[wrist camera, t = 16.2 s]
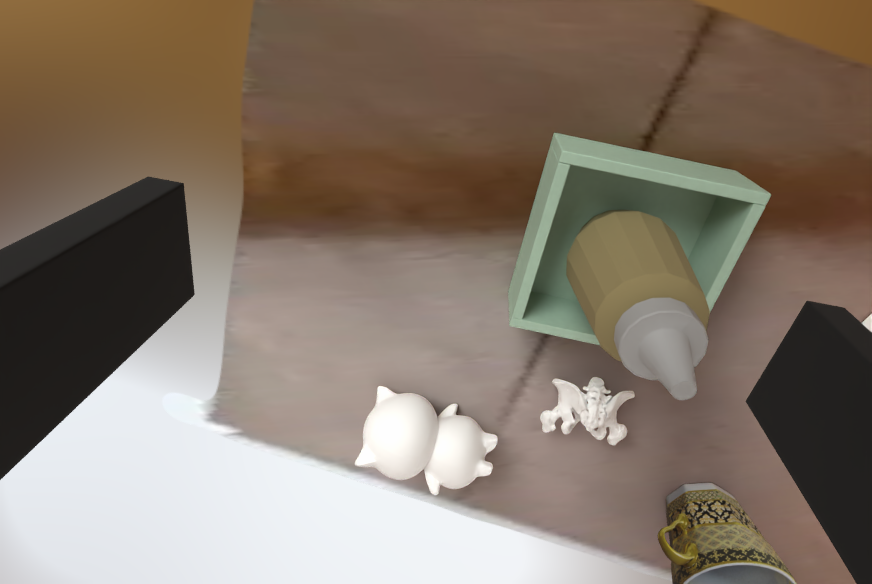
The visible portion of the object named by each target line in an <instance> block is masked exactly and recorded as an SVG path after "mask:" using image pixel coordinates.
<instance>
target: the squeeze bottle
mask: <svg viewBox="0 0 872 584" xmlns="http://www.w3.org/2000/svg"><path fill="white" fill-rule="evenodd" d="M566 276H567V278H568V280H569V282H570V285H571V287H572V289H573V291H574V293H575V295H576V297H577V299H578V302H579V304H580V306H581V308H582V310H583V312H584V314H585V316H586V318H587V320H588V322H589V324H590V326H591V328H592V330H593V332H594V334H595V336H596V338H597V340H598V342H599V344H600V346H601V348H602V349H603V350H605V351H606V352H607V353H608V354H609V355H611V356H612V357H613V358H614V359H615V360H618V361H621V362H622V363H623V365H624V367H626V368H627V369H628V370H629V371H630V372H632V373H633V374H634V375H635V376H639V377H642V378H645V379H648V380H659V381H660V382H661V383H662V384H663V386H664V387H665V388H666V389H667V390H668V391H669V392H670V394H671V395H672V396H673V397H674V398H676V399H678V400H688V399H690V398H692V397H694V395H695V394H696V393H697V385H696V378H695V372H694V367H696V366H697V365H698V363H699V362H700V361H701V359H702V358H703V357H704V355H705V354H706V350H707V345H708V340H709V339H708V336H707V333H706V330H707V325H708V320H709V315H710V310H709V307H708V304H707V301H706V298H705V295H704V293H703V290H702V288H701V286H700V284H699V282H698V280H697V278H696V276H695V274H694V271H693V269H692V267H691V265H690V263H689V261H688V259H687V257H686V254H685V252H684V250H683V248H682V246H681V244H680V242H679V240H678V238H677V235H676V233H675V232H674V231H673V230H672V229H671V228H670V227H669V226H668V225H667V224H666V223H665V222H663V221H662V220H661V219H660V218H658V217H655V216H652V215H649V214H646V213H643V212H640V211H633V210H608V211H605V212H603V213H601V214H598V215H596V216H594V217H592V218H591V219H590V220H589V221H588V222H587V223H586V224H585V225H584V226H583V227H582V228H581V230H580V231H579V233H578V235H577V236H576V238H575V240H574V242H573V244H572V246H571V248H570V250H569V252H568V254H567V266H566Z"/></svg>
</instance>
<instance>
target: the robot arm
mask: <svg viewBox="0 0 872 584" xmlns="http://www.w3.org/2000/svg"><path fill="white" fill-rule="evenodd" d="M193 296H194V285H193V275H192V264H191V254H190V245H189V234H188V224H187V214H186V203H185V194H184V184H183V183H179V182H174V181H169V180H163V179H158V178H152V177H146V178H145V179H142V180H140V181H138V182H136V183H134V184H132V185H130V186H128V187H126V188H124V189H122V190H120V191H118V192H116V193H114V194H112V195H110V196H108V197H106V198H104V199H102V200H100V201H98V202H96V203H94V204H92V205H90V206H88V207H86V208H84V209H82V210H80V211H78V212H76V213H74V214H72V215H69V216H68V217H65V218H64V219H61V220H59V221H57V222H55V223H54V224H51V225H49V226H47V227H45V228H43V229H41V230H39V231H37V232H35V233H33V234H31V235H29V236H27V237H25V238H23V239H21V240H19V241H17V242H15V243H13V244H11V245H9V246H7V247H5V248H3V249H1V250H0V480H1V478H3V477H4V476H5V475H6V474H7V473H8V472H9V471H10V470H11V469H12V468H13V467H14V466H15V465H16V464H17V463H18V462H19V461H20V460H21V459H22V458H24V457H25V456H26V455H27V454H28V453H29V452H30V451H31V450H32V449H33V448H34V447H35V446H36V445H37V444H38V443H39V442H40V441H42V440H43V439H44V438H45V437H46V436H47V435H48V434H49V433H50V432H51V431H52V430H53V429H54V428H55V427H56V426H57V425H58V424H59V423H60V422H61V421H63V420H64V418H66V417H67V416H68V415H69V414H70V413H71V412H72V411H73V410H74V409H75V408H76V407H77V406H78V405H79V404H80V403H81V402H82V401H83V400H84V399H86V398H87V397H88V396H89V395H90V394H91V393H92V392H93V391H94V390H95V389H96V388H97V387H98V386H99V385H100V384H101V383H102V382H103V381H104V380H106V379H107V378H108V377H109V376H110V375H111V374H112V373H113V372H114V371H115V370H116V369H117V368H118V367H119V366H120V365H121V364H122V363H123V362H124V361H126V360H127V359H128V358H129V357H130V356H131V355H132V354H133V353H134V352H135V351H136V350H137V349H138V348H139V347H140V346H141V345H142V344H143V343H144V342H145V341H146V340H148V338H150V337H151V336H152V335H153V334H154V333H155V332H156V331H157V330H158V329H159V328H160V327H161V326H162V325H163V324H164V323H165V322H166V321H168V320H169V318H171V317H172V316H173V315H174V314H175V313H176V312H177V311H178V310H179V309H180V308H181V307H182V306H183V305H184V304H185V303H186V302H187V301H188V300H190V299H191V297H193ZM746 403H747V404H748V406H749V407H750V409H751V411H752V412H753V414H754V416H755V417H756V419H757V421H758V422H759V424H760V426H761V427H762V429H763V430H764V432H765V434H766V435H767V437H768V439H769V440H770V442H771V444H772V445H773V447H774V448H775V450H776V452H777V453H778V455H779V457H780V458H781V460H782V462H783V463H784V465H785V467H786V468H787V470H788V471H789V473H790V475H791V476H792V478H793V480H794V481H795V483H796V485H797V486H798V488H799V490H800V491H801V493H802V494H803V496H804V498H805V499H806V501H807V503H808V504H809V506H810V508H811V509H812V511H813V513H814V514H815V516H816V517H817V519H818V521H819V522H820V524H821V526H822V527H823V529H824V531H825V532H826V534H827V536H828V537H829V539H830V540H831V542H832V544H833V545H834V547H835V549H836V550H837V552H838V554H839V555H840V557H841V559H842V560H843V562H844V563H845V565H846V567H847V568H848V570H849V572H850V573H851V575H852V577H853V578H854V580H855V582H856V583H857V584H872V332H871V331H870V330H868V329H867V328H866V327H865V326H864V325H863V324H862V323H861V322H860V321H858V320H857V319H856V318H855V317H854V316H853V315H852V314H851V313H849V312H848V311H847V310H846V309H845V308H843V307H837V306H832V305H827V304H821V303H816V302H811V301H806V303H805V305H804V306H803V308H802V310H801V311H800V313H799V315H798V316H797V318H796V319H795V321H794V323H793V324H792V326H791V328H790V329H789V331H788V333H787V334H786V336H785V338H784V339H783V341H782V342H781V344H780V346H779V347H778V349H777V351H776V352H775V354H774V356H773V357H772V359H771V361H770V362H769V364H768V365H767V367H766V369H765V370H764V372H763V374H762V375H761V377H760V379H759V380H758V382H757V383H756V385H755V387H754V388H753V390H752V392H751V393H750V395H749V397H748V398H747V400H746Z"/></svg>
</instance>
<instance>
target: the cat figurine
mask: <svg viewBox="0 0 872 584" xmlns="http://www.w3.org/2000/svg"><path fill="white" fill-rule="evenodd" d="M457 407H458V405H457V404H451V405H449V406H448V407H447V408H446V409H444V410H443V411H442V413H441V414H440V415H439V416H438V417H437V414H436V412H435V409H434V408H433V406H432V404H431V403H430V402H429V401H428V400H427V399H426V398H424V397H423V396H421V395H418V394H414V393H402V394H396V393H394V392H392V391H391V390H389V389H388V388H386V387H383V386H379V387H378V389H377V401H376V405H375V407H374V409H373V410H372V411H371V412H370V414H369V415H368V417H367V419H366V422H365V425H364V429H363V448H362V451H361V453H360V455H359V456H358V458H357V460H356V462H355V465H356V466H359V467H375V468H377V469H378V470H379V471H380V472H381V473H383V474H384V475H386V476H387V477H389V478H392V479H396V480H405V479H409V478H411V477H413V476H415V475H417V474H418V473H419V472H421V471H422V470H423V469H424V472H425V476H426V481H427V484H428V487H429V490H430V492H431V493H432V494H433V495H434V496H435V495H438V493H439V489H440V485H443V486H444V487H447V488H450V489H459V488H463V487H465V486H467V485H469V484H470V483H471V482H472V481H474V480H475V478H476V477H479V476H488V475H490V474H491V472H492V469H493V465H492V463H490V462H487V461H485V455H486V454H487V453H488V452H490V451H492V450H493V449H494V448H495V447H496V445H497V441H498V440H497V436H496V435H494V434H489V433H485V432H484V431H483V430H482V429H481V427H480V426H479V424H478V423H477V422H476V421H475V420H474V419H472V418H470V417H468V416H463V415H456V412H457Z"/></svg>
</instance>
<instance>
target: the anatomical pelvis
mask: <svg viewBox="0 0 872 584" xmlns="http://www.w3.org/2000/svg"><path fill="white" fill-rule="evenodd" d="M552 383H553V384H554V385H555V386H556V387H557V389H558V393H559V396H558V398H559V400H558V405H557V406H556V407H555V408H554V409H553V410H552V411H549V410H546V411H544V412H543V413H542V414H541V417H540V420H541V422H542V425H543V427H542V430H543V431H544V432H550V431H554V430H555V429H556V427H555V425H554V424H555V421H556V420H557V419H558V418H560V417H562V420H563V424H562V426H561V429H562V432H563V433H564V434H569V433H570V432H571V430H572V429H573V427H575V425H576V424H577V423H578V422H579V421H580V420H581V423H582V424H583V425H584V426H585V427H586V428H587V429H586V430H587V431H588V432H589V431H590V432H591V434H592V436H593V437H595V438H596V439H598V440H602V439H603V438H604V437H605V436H606V433H607V431H606V428H607V427H609V430H610V435H609V436H608V437H607V441H608V443H609V444H611V445H614V446H615V445H616V444H617V443H618V442H619V441H620V440H622V439H624V438H625V436H626V434H627V428H626V426H625V425H623V424H619V423H617V418H616V416H617V410H618V408H619V407H620V406H621V405H622V404H623V403H624V402H625V401H626V400H628V399H630V398H634V396H635V394H634V392H633V391H622V392H619V393H618V394H616V395H615V396H614V397H613V398H612V396H611V395H610V396H605V395H604V393H605V394H609V393H611V391H610V390H606V389H605V387H604V381H603V380H602V379H601V378H598V377H593V378H592V379H591V380H590V382H589V385H588V387H586V386H584V387H583V390H586V391H587V394H584V393H583V392H581V391H580V389H579V388H578V387H577V386H576V385H574V384H572V383H570V382H567V381H564V380H561V379H554V380H553V382H552ZM587 402H588V404H587ZM572 411H573V413H574V415H575V420H574V419H573V416H572ZM598 418H599V420H598ZM598 424H599V425H598ZM597 427H599V428H598V430H596V431H595V430H594V428H597Z"/></svg>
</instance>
